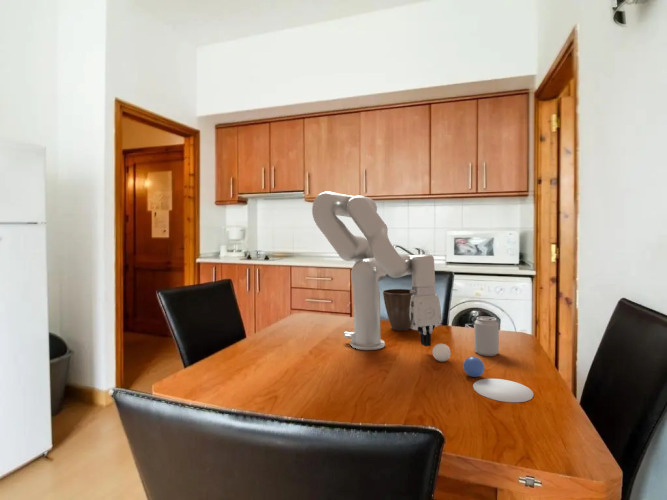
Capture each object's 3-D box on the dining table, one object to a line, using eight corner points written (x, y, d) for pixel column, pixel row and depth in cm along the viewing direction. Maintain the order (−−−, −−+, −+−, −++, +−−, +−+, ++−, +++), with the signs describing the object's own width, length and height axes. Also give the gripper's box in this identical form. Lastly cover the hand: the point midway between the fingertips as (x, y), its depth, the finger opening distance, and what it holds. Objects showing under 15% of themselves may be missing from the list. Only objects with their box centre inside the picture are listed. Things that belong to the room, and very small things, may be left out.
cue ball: (431, 362, 115) (431, 345, 115) (433, 357, 120) (433, 340, 120) (449, 365, 113) (449, 347, 113) (451, 359, 118) (451, 342, 118)
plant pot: (383, 323, 167) (382, 288, 166) (417, 324, 165) (416, 288, 164) (383, 332, 152) (382, 293, 151) (420, 333, 150) (420, 294, 149)
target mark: (471, 397, 91) (471, 396, 91) (474, 376, 104) (474, 375, 104) (536, 406, 85) (536, 405, 85) (530, 383, 98) (530, 382, 98)
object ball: (462, 378, 102) (462, 359, 102) (464, 371, 108) (464, 353, 107) (484, 381, 100) (484, 361, 100) (484, 374, 105) (484, 355, 105)
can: (501, 357, 119) (501, 320, 119) (476, 356, 121) (476, 319, 120) (495, 350, 127) (495, 315, 126) (472, 349, 128) (472, 315, 128)
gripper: (411, 294, 118) (413, 351, 119) (449, 290, 124) (451, 344, 124) (398, 292, 125) (401, 345, 126) (435, 288, 131) (437, 339, 131)
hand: (426, 345), depth 125 cm, fingers closed
